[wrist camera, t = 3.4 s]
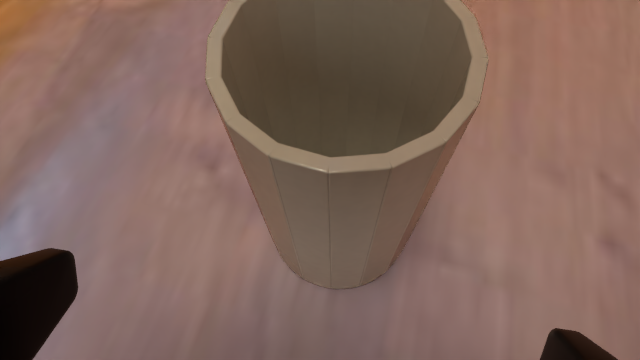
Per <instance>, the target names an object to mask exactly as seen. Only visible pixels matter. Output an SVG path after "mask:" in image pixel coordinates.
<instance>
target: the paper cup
mask: <svg viewBox="0 0 640 360" xmlns="http://www.w3.org/2000/svg"><path fill="white" fill-rule="evenodd" d="M487 65H488V55H487V51H486V48H485V45H484V42H483V39H482V35H481V32H480V29H479V26H478V22H477V19H476V17H475V15H474V14H473V13H472V12H471V11H470V10H469V9H468V8H467V7H466V5H465V4H464V3H463V2H462V1H461V0H230V1H228V2H227V4H226V6H225V8H224V9H223V11H222V13H221V15H220V16H219V18H218V20H217V21H216V23H215V25H214V27H213V28H212V30H211V32H210V34H209V35H208V38H207V52H206V71H205V80H206V84H207V87H208V89H209V92H210V94H211V96H212V99H213V101H214V103H215V106H216V108H217V110H218V113H219V115H220V117H221V120H222V122H223V124H224V127H225V129H226V132H227V134H228V136H229V139H230V141H231V143H232V146H233V148H234V150H235V153H236V155H237V157H238V160H239V162H240V164H241V167H242V169H243V172H244V174H245V176H246V179H247V181H248V183H249V186H250V188H251V190H252V193H253V195H254V197H255V200H256V202H257V204H258V207H259V209H260V212H261V214H262V216H263V219H264V221H265V223H266V226H267V228H268V230H269V233H270V235H271V237H272V239H273V242H274V244H275V246H276V248H277V250H278V252H279V254H280V256H281V259H282V260H283V261H284V262H285V263H286V264H287V266H288V267H289V268H290V269H291V270H292V271H293V272H294V273H296V274H297V275H298V276H300V277H301V278H303V279H305V280H306V281H308V282H310V283H313V284H315V285H318V286H322V287H326V288H333V289H347V288H354V287H358V286H361V285H364V284H367V283H369V282H371V281H373V280H375V279H376V278H378V277H380V276H381V275H382V274H383V273H385V272H386V271H387V270H388V269H389V268H390V267H391V266H392V265H393V263H394V262H395V260H396V259H397V258H398V256H399V255H400V254H401V252H402V251H403V249H404V247H405V245H406V243H407V241H408V239H409V238H410V236H411V234H412V232H413V230H414V228H415V226H416V224H417V222H418V220H419V218H420V216H421V214H422V213H423V211H424V209H425V207H426V205H427V203H428V201H429V199H430V197H431V195H432V193H433V191H434V189H435V188H436V186H437V184H438V182H439V180H440V178H441V176H442V174H443V172H444V170H445V168H446V166H447V164H448V163H449V161H450V159H451V157H452V155H453V153H454V151H455V149H456V147H457V145H458V143H459V141H460V139H461V138H462V136H463V134H464V132H465V130H466V128H467V126H468V124H469V122H470V120H471V118H472V116H473V114H474V113H475V111H476V109H477V107H478V105H479V103H480V99H481V94H482V89H483V84H484V80H485V75H486V70H487Z"/></svg>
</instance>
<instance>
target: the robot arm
mask: <svg viewBox="0 0 640 360" xmlns="http://www.w3.org/2000/svg"><path fill="white" fill-rule="evenodd" d="M77 291H78V282H77V274H76V266H75V259H74V256H73V254H72V253H71V252H70V251H66V250H60V249H54V248H48V249H44V250H40V251H37V252H33V253H29V254H26V255H22V256H18V257H14V258H11V259H7V260H3V261H0V360H33V358H34V357H35V355H36V354H37V353H38V351H39V350H40V348H41V347H42V345H43V344H44V343H45V341H46V340H47V338H48V337H49V335H50V334H51V333H52V331H53V330H54V328H55V327H56V325H57V324H58V323H59V321H60V320H61V318H62V317H63V315H64V314H65V313H66V311H67V310H68V308H69V307H70V305H71V304H72V303H73V301H74V299H75V297H76V295H77ZM540 360H618V359H616V358H615V357H614V356H612V355H611V354H609V353H608V352H607V351H605V350H604V349H602V348H601V347H600V346H598V345H597V344H595V343H594V342H592V341H591V340H590V339H588V338H587V337H585V336H584V335H583V334H581V333H579V332H577V331H572V330H565V329H558V328H555V329H553V330H551V332H550V333H549V335H548V338H547V341H546V344H545V346H544V349H543V352H542V355H541V358H540Z"/></svg>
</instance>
